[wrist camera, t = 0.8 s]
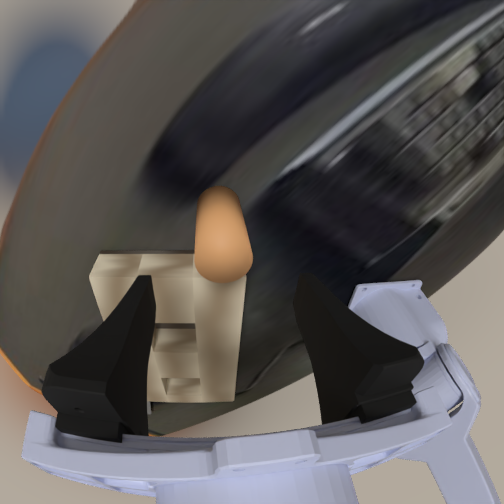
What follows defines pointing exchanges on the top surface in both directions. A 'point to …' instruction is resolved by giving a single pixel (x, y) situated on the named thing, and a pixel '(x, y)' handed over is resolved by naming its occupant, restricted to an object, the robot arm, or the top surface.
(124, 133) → the top surface
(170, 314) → the socket board
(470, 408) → the robot arm
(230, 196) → the dowel
